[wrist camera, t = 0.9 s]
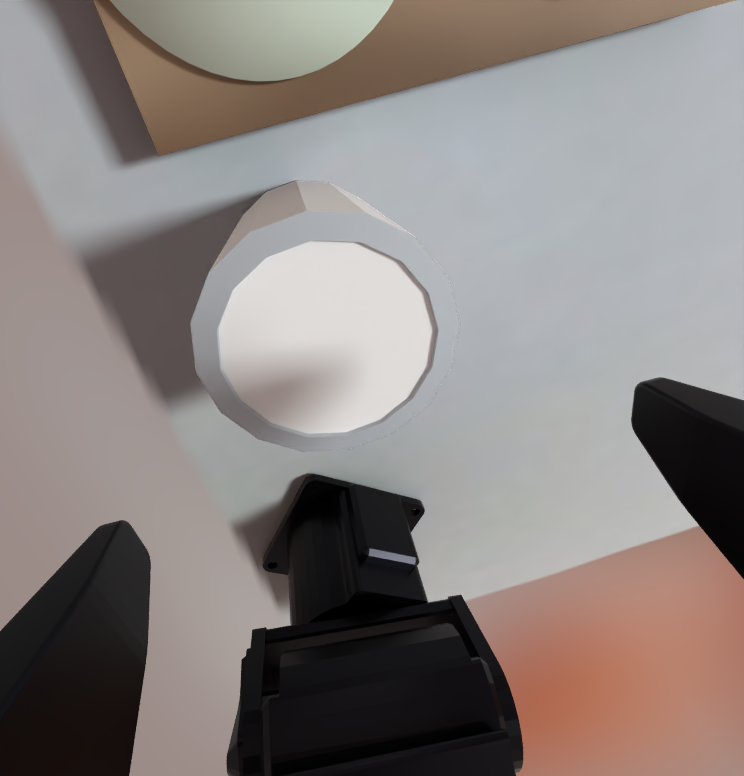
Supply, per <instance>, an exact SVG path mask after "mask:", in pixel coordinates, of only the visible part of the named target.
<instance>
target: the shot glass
mask: <svg viewBox="0 0 744 776" xmlns="http://www.w3.org/2000/svg"><path fill="white" fill-rule="evenodd" d="M190 326H191V335H192V343H193V352H194V361H195V370H196V373H197V375H198V377H199V378H200V380H201V381H202V383H203V385H204V386H205V388H206V390H207V391H208V393H209V394H210V396H211V398H212V399H213V401H214V402H215V404H216V406H217V407H218V409H219V411H220V412H221V413H222V414H224V415H225V416H227V417H228V418H229V419H231V420H232V421H234V422H235V423H236V424H238V425H239V426H241V427H242V428H243V429H245V430H246V431H248V432H249V433H250V434H252V435H253V436H255V437H256V438H257V439H259V440H263V441H267V442H270V443H274V444H277V445H281V446H285V447H288V448H292V449H295V450H299V451H303V452H306V451H327V450H349V449H352V448H354V447H357V446H360V445H363V444H365V443H368V442H371V441H374V440H376V439H379V438H382V437H385V436H387V435H390V434H392V433H394V432H395V431H396V430H397V429H399V428H400V427H401V426H403V425H404V424H405V423H406V422H408V421H409V420H410V419H412V418H413V417H414V416H415V415H417V414H418V413H419V412H420V411H422V410H423V409H424V408H426V407H427V406H428V405H429V403H430V401H431V400H432V398H433V397H434V395H435V394H436V392H437V390H438V389H439V387H440V386H441V384H442V383H443V381H444V379H445V378H446V376H447V375H448V373H449V372H450V370H451V369H452V364H453V359H454V354H455V348H456V343H457V338H458V333H459V327H460V321H459V317H458V312H457V308H456V304H455V300H454V296H453V291H452V287H451V283H450V279H449V277H448V276H447V274H446V273H445V272H444V271H443V269H442V268H441V267H440V266H439V264H438V263H437V262H436V261H435V260H434V258H433V257H432V256H431V255H430V253H429V252H428V251H427V250H426V248H425V247H424V246H423V245H422V243H421V242H420V241H419V240H418V238H416V237H415V236H413V235H412V234H411V233H409V232H408V231H406V230H405V229H403V228H402V227H400V226H399V225H398V224H396V223H395V222H393V221H392V220H390V219H389V218H387V217H386V216H384V215H383V214H382V213H380V212H379V211H377V210H376V209H374V208H373V207H371V206H370V205H369V204H367V203H366V202H364V201H363V200H361V199H360V198H358V197H357V196H355V195H353V194H351V193H349V192H347V191H345V190H343V189H341V188H339V187H337V186H335V185H333V184H331V183H329V182H315V181H297V180H296V181H293V182H291V183H288V184H285V185H283V186H280V187H277V188H275V189H272V190H270V191H267V192H265V193H264V194H263V195H262V196H261V197H260V198H259V199H258V200H257V201H256V202H255V203H254V204H253V205H252V206H251V207H250V208H249V209H248V210H247V211H246V212H245V213H244V214H243V216H242V217H241V219H240V221H239V222H238V224H237V226H236V227H235V229H234V231H233V232H232V234H231V236H230V237H229V239H228V241H227V243H226V244H225V246H224V248H223V249H222V251H221V253H220V254H219V256H218V258H217V259H216V261H215V263H214V264H213V266H212V268H211V269H210V271H209V273H208V276H207V278H206V281H205V284H204V287H203V289H202V292H201V295H200V298H199V300H198V303H197V306H196V309H195V311H194V314H193V317H192V320H191V322H190Z"/></svg>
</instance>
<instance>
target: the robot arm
mask: <svg viewBox="0 0 744 776" xmlns="http://www.w3.org/2000/svg"><path fill="white" fill-rule="evenodd" d="M631 422H632V427H633V430H634V432H635V434H636V436H637V437H638V439H639V440H640V442H641V443H642V445H643V446H644V448H645V449H646V451H647V452H648V454H649V455H650V457H651V458H652V460H653V462H654V463H655V465H656V466H657V468H658V469H659V471H660V472H661V474H662V475H663V477H664V478H665V480H666V481H667V483H668V484H669V486H670V487H671V489H672V490H673V492H674V493H675V495H676V496H677V498H678V499H679V500H680V502H681V503H682V504H683V506H684V507H685V508H686V510H687V511H688V512H689V513H690V515H691V516H692V517H693V518H694V519H695V521H696V522H697V523H698V524H699V526H700V527H701V528H702V529H703V530H704V532H705V533H706V534H707V535H708V536H709V538H710V539H711V540H712V541H713V542H714V544H715V545H716V546H717V547H718V549H719V550H720V551H721V552H722V554H723V555H724V556H725V557H726V558H727V560H728V561H729V562H730V563H731V564H732V565H733V567H734V568H735V569H736V571H737V572H738V573H739V574H740V575H741V577H742V578H743V579H744V400H740V399H737V398H733V397H730V396H726V395H723V394H719V393H716V392H712V391H709V390H705V389H702V388H698V387H695V386H691V385H688V384H684V383H681V382H677V381H674V380H670V379H666V378H661V377H660V378H654V379H651V380H647V381H643V382H640V383H639V384H637V386H636V388H635V391H634V399H633V408H632V417H631ZM314 484H317V485H318V486H315V487H313V486H311V485H314ZM413 509H415V510H413ZM424 512H425V510H424V506H423V504H422V502H421V501H420V500H417V499H413V498H409V497H405V496H401V495H397V494H393V493H389V492H385V491H381V490H377V489H373V488H369V487H365V486H361V485H357V484H353V483H349V482H345V481H341V480H337V479H333V478H329V477H325V476H321V475H310V476H308V477H307V478H306V479H305V480H304V482H303V484H302V486H301V487H300V489H299V491H298V493H297V495H296V497H295V499H294V501H293V503H292V504H291V506H290V508H289V510H288V512H287V514H286V516H285V518H284V520H283V521H282V523H281V525H280V527H279V529H278V531H277V533H276V535H275V537H274V538H273V540H272V542H271V544H270V546H269V548H268V550H267V552H266V554H265V555H264V557H263V568H264V569H265V570H266V571H268V572H274V573H280V574H286V575H288V577H289V599H290V621H291V626H285V627H279V628H274V629H266V627H265V628H260V629H254V630H252V639H251V648H250V649H247V651H246V656H245V657H244V658H243V659H242V664H241V688H240V701H239V706H238V711H237V715H236V719H235V724H234V728H233V732H232V736H231V741H230V744H229V749H228V753H227V773H228V775H229V776H516V774H515V773H516V772H519V771H520V770H521V768H522V764H523V743H522V735H521V729H520V724H519V719H518V715H517V711H516V707H515V704H514V700H513V697H512V694H511V691H510V687H509V685H508V682H507V680H506V677H505V675H504V672H503V670H502V668H501V666H500V664H499V662H498V661H497V659H496V657H495V655H494V653H493V652H492V650H491V648H490V646H489V644H488V642H487V641H486V639H485V637H484V635H483V633H482V632H481V630H480V628H479V626H478V624H477V623H476V621H475V619H474V617H473V615H472V614H471V612H470V610H469V608H468V606H467V605H466V603H465V601H464V599H463V597H462V596H461V595H456V596H450V597H448V599H446V600H440V601H434V602H428V600H427V597H426V594H425V590H424V587H423V584H422V580H421V577H420V574H419V570H418V567H417V565H418V564H419V558H418V555H417V552H416V548H415V545H414V542H413V539H412V535H411V531H412V530H413V529H414V527H415V526H416V524H417V523H418V521H419V520H420V518H421V517H422V516H423V514H424ZM150 563H151V562H150V556H149V553H148V551H147V549H146V548H145V546H144V544H143V543H142V541H141V540H140V538H139V537H138V536H137V534H136V532H135V531H134V529H133V528H132V526H131V525H130V524H129V523H128V522H127V521H124V520H121V521H117V522H113V523H109V524H105V525H102V526H100V527H98V528H97V529H96V530H95V531H94V532H93V533H92V534H91V536H90V537H88V539H87V540H86V541H85V542H84V543H83V544H82V545H81V546H80V547H79V548H78V549H77V550H76V551H75V552H74V553H73V554H72V556H71V557H70V558H69V559H68V560H67V561H66V562H65V563H64V564H63V565H62V566H61V567H60V568H59V570H57V571H56V573H55V574H54V575H53V576H52V577H51V578H50V579H49V580H48V581H47V582H46V583H45V584H44V586H42V587H41V589H40V590H39V591H38V592H37V593H36V594H35V595H34V596H33V597H32V598H31V599H30V600H29V601H28V602H27V603H26V604H25V605H24V606H23V608H22V609H21V610H20V611H19V612H18V613H17V614H16V615H15V616H14V617H13V618H12V620H10V621H9V622H8V624H7V625H6V626H5V627H4V628H3V629H2V630H1V631H0V776H129V773H130V765H131V759H132V753H133V746H134V739H135V732H136V726H137V719H138V711H139V705H140V698H141V691H142V685H143V678H144V671H145V664H146V656H147V645H148V625H149V597H150V596H149V595H150V569H151V564H150Z"/></svg>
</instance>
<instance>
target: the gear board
mask: <svg viewBox="0 0 744 776" xmlns="http://www.w3.org/2000/svg"><path fill="white" fill-rule="evenodd" d="M93 1H94V4H95V6H96V8H97V11H98V13H99V15H100V18H101V20H102V23H103V25H104V27H105V30H106V32H107V34H108V37H109V39H110V42H111V44H112V46H113V49H114V51H115V53H116V56H117V58H118V60H119V63H120V65H121V68H122V70H123V72H124V75H125V77H126V79H127V82H128V84H129V87H130V89H131V91H132V94H133V96H134V98H135V101H136V103H137V105H138V108H139V110H140V113H141V115H142V117H143V120H144V122H145V124H146V127H147V129H148V132H149V134H150V136H151V139H152V141H153V143H154V146H155V148H156V151H157V153H158V155H159V156H161V155H165V154H168V153H172V152H176V151H179V150H183V149H187V148H190V147H194V146H198V145H202V144H205V143H209V142H213V141H216V140H220V139H224V138H228V137H231V136H235V135H239V134H242V133H246V132H250V131H253V130H257V129H261V128H265V127H268V126H272V125H276V124H279V123H283V122H287V121H290V120H294V119H298V118H302V117H305V116H309V115H313V114H316V113H320V112H324V111H327V110H331V109H335V108H339V107H342V106H346V105H350V104H353V103H357V102H361V101H364V100H368V99H372V98H376V97H379V96H383V95H387V94H390V93H394V92H398V91H401V90H405V89H409V88H413V87H416V86H420V85H424V84H427V83H431V82H435V81H439V80H442V79H446V78H450V77H453V76H457V75H461V74H464V73H468V72H472V71H476V70H479V69H483V68H487V67H490V66H494V65H498V64H501V63H505V62H509V61H513V60H516V59H520V58H524V57H527V56H531V55H535V54H538V53H542V52H546V51H550V50H553V49H557V48H561V47H564V46H568V45H572V44H575V43H579V42H583V41H587V40H590V39H594V38H598V37H601V36H605V35H609V34H612V33H616V32H620V31H624V30H627V29H631V28H635V27H638V26H642V25H646V24H649V23H653V22H657V21H661V20H664V19H668V18H672V17H675V16H679V15H683V14H687V13H690V12H694V11H698V10H701V9H705V8H709V7H712V6H716V5H720V4H724V3H727V2H731V1H735V0H93Z"/></svg>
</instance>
